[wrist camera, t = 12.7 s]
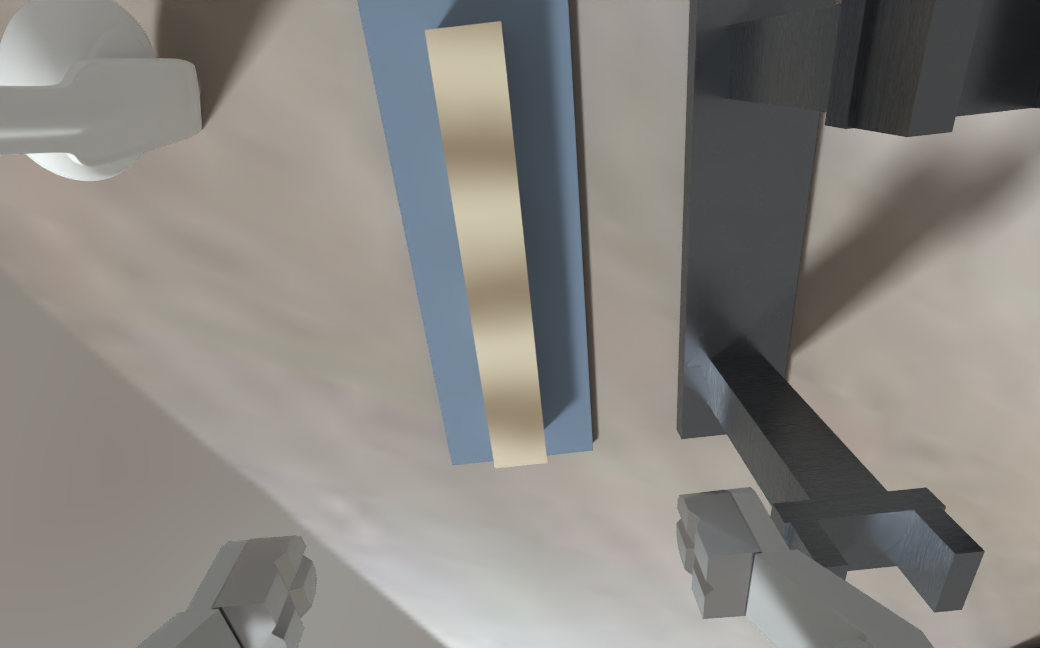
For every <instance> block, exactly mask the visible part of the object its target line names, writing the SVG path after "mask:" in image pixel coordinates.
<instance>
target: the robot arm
mask: <svg viewBox="0 0 1040 648" xmlns="http://www.w3.org/2000/svg"><path fill="white" fill-rule="evenodd" d="M677 509H678V511H679V514H680V517H681V519H680V520H679V521H678V522H677V542H678V549H679V553H680V556H681V560H682V563H683V566H684V568H685V570H686V571H688V572H689V573H690V574H691V575H693V576H692V591H693V593H694V596H695V599H696V601H697V604H698V607H699V609H700V612H701V615H702V618H703V619H708V618H722V617H736V616H746V619H747V620H748V621H749V622H750V623H751V624H752V625H753V626H754V627H755V628H756V629H757V630H758V631H760V632H761V633H762V634H763V635H764V636H765V637H766V638H767V639H768V640H769V641H770V642H771V643H772V644H773V645H774V646H775V647H776V648H934V647H933V646H932V644H931V643H930V642H929V640H928V639H927V638H926V636H925V635H924V633H923V632H922V631H921V630H919V629H918V628H916V627H915V626H913V625H912V624H910V623H909V622H907V621H906V620H904V619H902V618H901V617H899V616H898V615H896V614H895V613H893V612H892V611H890V610H889V609H887V608H886V607H884V606H883V605H881V604H880V603H878V602H877V601H875V600H874V599H872V598H870V597H869V596H867V595H866V594H864V593H863V592H861V591H860V590H858V589H857V588H855V587H854V586H852V585H851V584H849V583H848V582H846V581H845V580H843V579H842V578H840V577H839V576H837V575H835V574H834V573H832V572H831V571H829V570H828V569H826V568H825V567H823V566H822V565H820V564H819V563H817V562H816V561H814V560H813V559H811V558H810V557H808V556H807V555H805V554H804V553H802V552H800V551H799V550H790V549H789V547H788V546H787V544H786V542H785V541H784V539H783V537H782V536H781V534H780V532H779V531H778V529H777V527H776V526H775V524H774V522H773V521H772V519H771V517H770V515H769V514H768V512H767V510H766V509H765V507H764V505H763V504H762V502H761V500H760V499H759V497H758V495H757V494H756V492H755V490H753V489H752V488H751V487H747V488H738V489H729V490H719V491H710V492H701V493H693V494H684V495H679V498H678V505H677ZM305 549H306V545H305V543H304V541H303V539H302V537H301V536H284V537H271V538H258V539H250V540H238V541H229V542H227V543H226V544H225V545H224V546H222V547H221V549H220V551H219V552H218V554H217V556H216V558H215V560H214V561H213V563H212V565H211V567H210V568H209V570H208V572H207V574H206V576H205V577H204V579H203V581H202V583H201V584H200V586H199V588H198V590H197V592H196V593H195V595H194V597H193V599H192V600H191V602H190V604H189V606H188V608H187V609H186V611H185V612H181V613H177V614H176V615H175V616H174V617H172V618H171V619H170V620H169V621H167V622H166V623H165V624H164V625H163V626H161V627H160V628H159V629H158V630H157V631H155V632H154V633H153V634H152V635H150V636H149V637H148V638H147V639H146V640H144V641H143V642H142V643H141V644H140V645H138V646H137V647H136V648H298V646H299V642H300V639H301V637H302V634H303V631H304V626H303V623H302V621H301V618H302V616H303V615H304V614H305V613H306V612H307V611H308V610H309V609H310V608H311V607H312V603H313V601H314V597H315V594H316V584H317V577H316V570H315V567H314V564H313V562H312V561H311V560H310V559H308V558H307V557H305V556H304V555H303V554H304V551H305Z"/></svg>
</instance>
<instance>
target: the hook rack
mask: <svg viewBox="0 0 1040 648" xmlns="http://www.w3.org/2000/svg"><path fill="white" fill-rule="evenodd" d="M1026 108H1040V0H842V4H837V5H835V0H690V13H689V46H688V78H687V111H686V143H685V175H684V208H683V240H682V273H681V305H680V338H679V370H678V403H677V431H678V433H679V435H680V437H681V439H686V438H696V437H705V436H715V435H724V434H727V435H728V437H729V439H730V440H731V442H732V443H733V445H734V447H735V448H736V450H737V451H738V453H739V455H740V456H741V458H742V459H743V461H744V463H745V464H746V466H747V467H748V469H749V471H750V472H751V474H752V476H753V477H754V479H755V480H756V482H757V484H758V485H759V487H760V488H761V490H762V492H763V493H764V495H765V496H766V498H767V500H768V501H769V503H770V504H771V506H772V510H771V519H772V521H773V522H774V524H775V526H776V527H777V529H778V531H779V532H780V534H781V536H782V537H783V539H784V541H785V542H786V544H787V546H788V547H789V549H790V550H799V551H800V552H802V553H804V554H805V555H807V556H808V557H810V558H811V559H813V560H814V561H816V562H817V563H819V564H820V565H822V566H823V567H825V568H826V569H828V570H829V571H831V572H832V573H834V574H835V575H837V576H839V577H840V578H842V579H843V580H845V578H846V574H847V571H852V570H862V569H872V568H881V567H891V566H898V568H899V569H900V570H901V571H902V573H903V574H904V575H905V577H906V578H907V579H908V580H909V582H910V583H911V584H912V585H913V587H914V588H915V589H916V590H917V592H918V593H919V594H920V595H921V597H922V598H923V599H924V600H925V602H926V603H927V604H928V605H929V607H930V608H931V609H932V610H933V612H943V611H953V610H962V608H963V605H964V603H965V600H966V598H967V595H968V593H969V590H970V587H971V585H972V582H973V580H974V577H975V575H976V572H977V570H978V567H979V565H980V562H981V559H982V557H983V554H984V552H985V551H984V550H983V549H982V548H981V547H980V546H979V545H978V544H977V543H976V542H975V541H974V540H973V539H972V538H971V537H970V536H969V535H968V534H967V533H966V532H965V531H964V530H963V529H962V528H961V527H960V526H959V525H958V524H957V523H956V522H955V521H954V520H953V519H952V518H951V517H950V516H949V515H948V514H947V513H946V512H945V508H946V506H945V505H944V504H943V503H942V502H941V501H940V500H939V499H938V498H937V497H936V496H935V495H934V494H933V493H932V492H930V491H929V490H928V489H927V488H917V489H908V490H898V491H887V490H886V489H885V488H884V487H883V486H882V485H881V484H880V482H879V481H878V480H877V479H876V478H875V477H874V476H873V475H872V474H871V473H870V472H869V470H868V469H867V468H866V467H865V466H864V465H863V464H862V463H861V462H860V461H859V460H858V458H857V457H856V456H855V455H854V454H853V453H852V452H851V451H850V450H849V449H848V448H847V447H846V445H845V444H844V443H843V442H842V441H841V440H840V439H839V438H838V437H837V436H836V435H835V433H834V432H833V431H832V430H831V429H830V428H829V427H828V426H827V425H826V424H825V423H824V421H823V420H822V419H821V418H820V417H819V416H818V415H817V414H816V413H815V412H814V411H813V409H812V408H811V407H810V406H809V405H808V404H807V403H806V402H805V401H804V400H803V399H802V397H801V396H800V395H799V394H798V393H797V392H796V391H795V390H794V389H793V388H792V387H791V385H790V384H789V383H788V382H787V381H786V380H785V371H786V364H787V356H788V349H789V341H790V334H791V327H792V319H793V312H794V304H795V297H796V289H797V282H798V274H799V267H800V259H801V252H802V244H803V237H804V229H805V222H806V214H807V207H808V199H809V192H810V184H811V177H812V169H813V162H814V154H815V147H816V139H817V132H818V124H819V117H820V111H823V112H827V113H826V121H825V125H827V126H832V127H838V128H844V129H850V128H857V129H863V130H869V131H875V132H881V133H886V134H892V135H898V136H904V137H912V136H921V135H929V134H938V133H947V132H952V130H953V125H954V121H955V117H956V116H964V115H973V114H982V113H991V112H1000V111H1009V110H1017V109H1026Z"/></svg>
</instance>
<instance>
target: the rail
mask: <svg viewBox="0 0 1040 648" xmlns="http://www.w3.org/2000/svg"><path fill="white" fill-rule="evenodd" d="M425 36H426V42H427V48H428V54H429V61H430V67H431V73H432V79H433V85H434V92H435V98H436V104H437V110H438V117H439V123H440V129H441V135H442V142H443V148H444V154H445V160H446V167H447V173H448V179H449V185H450V191H451V198H452V204H453V210H454V216H455V223H456V229H457V235H458V241H459V248H460V254H461V260H462V266H463V273H464V279H465V285H466V291H467V297H468V304H469V310H470V316H471V322H472V329H473V335H474V341H475V347H476V354H477V360H478V366H479V372H480V379H481V385H482V391H483V397H484V403H485V410H486V416H487V422H488V428H489V435H490V441H491V447H492V453H493V460H494V466H495V468H503V467H512V466H521V465H531V464H540V463H547V456H546V446H545V436H544V427H543V417H542V408H541V398H540V389H539V379H538V369H537V360H536V350H535V341H534V331H533V322H532V312H531V302H530V293H529V283H528V274H527V264H526V254H525V245H524V235H523V226H522V216H521V207H520V197H519V187H518V178H517V168H516V159H515V149H514V139H513V130H512V120H511V111H510V101H509V92H508V82H507V72H506V63H505V53H504V44H503V34H502V25H501V21H497V22H489V23H480V24H472V25H463V26H455V27H446V28H438V29H429V30H425Z"/></svg>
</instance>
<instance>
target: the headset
mask: <svg viewBox="0 0 1040 648" xmlns="http://www.w3.org/2000/svg"><path fill="white" fill-rule="evenodd" d="M201 130H202V118H201V106H200V94H199V86H198V80H197V74H196V68H195V65H194V64H192V63H190V62H188V61H186V60H182V59H170V58H156V56H155V53H154V50H153V47H152V44H151V42H150V40H149V38H148V36H147V34H146V33H145V31H144V29H143V28H142V27H141V25H140V24H139V23H138V22H137V20H136V19H135V18H134V17H133V16H132V15H131V14H130V13H129V12H128V11H126V10H125V9H124V8H123V7H121V6H120V5H119V4H117V3H115V2H114V1H112V0H30V1H28V2H27V3H26V4H24V5H23V6H22V7H21V8H20V9H19V10H18V11H17V13H16V14H15V15H14V16H13V18H12V19H11V21H10V23H9V24H8V26H7V28H6V30H5V32H4V35H3V37H2V40H1V43H0V155H12V154H26V155H27V156H29V157H30V158H31V159H32V160H34V161H35V162H36V163H37V164H39V165H40V166H42V167H44V168H45V169H47V170H49V171H51V172H53V173H55V174H58V175H60V176H63V177H66V178H70V179H74V180H81V181H98V180H103V179H108V178H111V177H114V176H116V175H118V174H120V173H122V172H124V171H125V170H127V169H128V168H129V167H131V166H132V165H133V164H134V163H135V162H136V160H137V159H138V158H139V157H140V155H141V154H142V153H144V152H147V151H150V150H153V149H156V148H159V147H162V146H165V145H169V144H172V143H175V142H178V141H181V140H183V139H186V138H189V137H192V136H194V135H196V134H198V133H199V132H200V131H201Z"/></svg>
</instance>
